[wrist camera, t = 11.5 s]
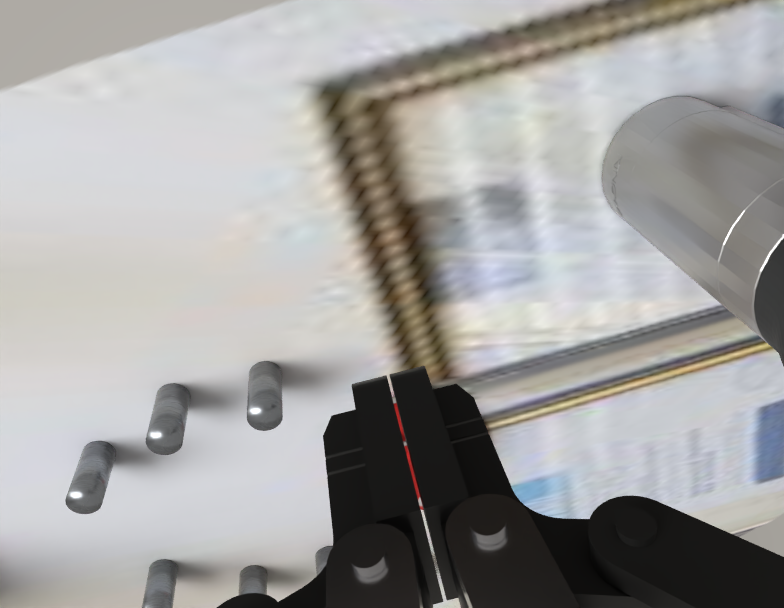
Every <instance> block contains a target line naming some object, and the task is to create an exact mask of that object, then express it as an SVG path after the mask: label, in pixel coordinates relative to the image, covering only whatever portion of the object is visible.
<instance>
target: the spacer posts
mask: <svg viewBox="0 0 784 608" xmlns="http://www.w3.org/2000/svg"><path fill="white" fill-rule="evenodd" d="M189 402H190V394H189V391H188V390H187V389H186V388H185V387H183V386H181V385H179V384H167V385H164V386H162V387H161V388H160V389H159V390H158V392H157V395H156V400H155V404H154V408H153V412H152V416H151V420H150V424H149V429H148V433H147V437H146V444H147V447H148V448H149V449H150V450H151V451H152V452H154V453H157V454H161V455H169V454H173V453H175V452H177V451H178V450H179V449H180V448H181V446H182V443H183V437H184V431H185V425H186V419H187V414H188V408H189ZM247 421H248V423H249V424H250V425H251V426H252V427H253V428H255V429H257V430H262V431H266V430H271V429H274V428H276V427H277V426H278V425H279V424H280V423H281V421H282V374H281V370H280V368H279V367H278V366H277V365H276V364H274V363H272V362H268V361H264V362H259V363H257V364H255V365H254V366H253V367H252V368H251V369H250V372H249V386H248V406H247ZM115 457H116V451H115V449H114V448H113V446H111V445H110V444H108V443H106V442H102V441H95V442H91V443H89V444H87V445H86V446H85V447H84V449H83V452H82V454H81V457H80V460H79V463H78V466H77V468H76V471H75V474H74V477H73V480H72V483H71V485H70V488H69V491H68V494H67V497H66V505H67V506H68V508H69V509H70V510H72V511H74V512H76V513H80V514H90V513H93V512H95V511H97V510H98V509H99V508H100V507H101V505H102V502H103V498H104V495H105V492H106V488H107V485H108V481H109V478H110V474H111V471H112V467H113V464H114V460H115ZM332 548H333V547H332V546H329V547H324V548H322V549H320V550H319V551H318V552H317V553H316V556H315V558H316V572H317V575H318V574H319V573H320V572H321V571H322V570H323V568H324V567H325V565H326V564H327V559H328V556H329V553H330V551H331V549H332ZM177 572H178V567H177V565H176V564H175V563H174V562H172V561H169V560H158V561H156V562H154V563H152V564H151V566H150V568H149V573H148V578H147V583H146V589H145V594H144V599H143V605H142V608H172V607H173V600H174V593H175V586H176V579H177ZM247 593H261V594H265V595H267V572H266V570H265V569H264V568H263V567H260V566H249V567H246V568H244V569H243V570H242V571H241V573H240V582H239V595H242V594H247ZM432 606H433V605H432Z"/></svg>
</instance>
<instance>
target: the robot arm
mask: <svg viewBox="0 0 784 608" xmlns="http://www.w3.org/2000/svg"><path fill="white" fill-rule="evenodd" d="M602 186H603V192H604V195H605V197H606V200H607V202H608V204H609V205H610V206H611V208H612V209H613V211H614V212H615V213H617V214H618V215H619V216H620V217H621V218H622V219H623V220H625V221H626V222H627V223H628V224H629V225H630V226H632V227H633V228H634V229H635V230H636V231H637V232H639V233H640V234H641V235H642V236H643V237H644V238H645V239H646V240H647V241H649V242H650V243H651V244H652V245H653V246H654V247H656V248H657V249H658V250H659V251H660V252H661V253H663V254H664V255H665V256H666V257H667V258H668V259H670V260H671V261H672V262H673V263H674V264H675V265H677V266H678V267H679V268H680V269H681V270H682V271H684V272H685V273H686V274H687V275H688V276H689V277H691V278H692V279H693V280H694V281H695V282H696V283H698V284H699V285H700V286H701V287H702V288H703V289H705V290H706V291H707V292H708V293H709V294H710V295H712V296H713V297H714V298H715V299H716V300H717V301H719V302H720V303H721V304H722V305H723V306H724V307H726V308H727V309H728V310H729V311H730V312H731V313H733V314H734V315H735V316H736V317H737V318H739V319H740V320H741V321H742V322H743V323H744V324H746V325H747V326H748V327H749V328H750V329H751V330H753V331H754V332H755V333H756V334H757V335H758V336H760V337H761V338H762V339H763V340H764V341H765V342H767V343H768V344H769V345H770V346H771V347H773V348H774V349H775V350H776V351H777V352H778V353H779V355H780V358H781V361H782V363H783V366H784V128H782V127H779V126H777V125H774V124H772V123H770V122H767V121H765V120H762V119H760V118H757V117H755V116H752V115H750V114H748V113H745V112H743V111H740V110H738V109H735V108H733V107H731V106H725V107H721V108H719V107H717V106H714V105H712V104H710V103H707V102H705V101H703V100H700V99H696V98H692V97H686V96H675V97H670V98H665V99H661V100H659V101H656V102H654V103H652V104H649V105H647V106H646V107H644V108H643V109H641V110H640V111H638V112H637V113H635V114H634V115H633V116H632V117H631V118H630V119H629V120H628V121H627V122H626V123H625V124H623V126H622V127H621V128H620V130H619V131H618V132H617V134H616V135H615V136H614V138H613V140H612V142H611V144H610V146H609V148H608V150H607V152H606V155H605V159H604V162H603V167H602ZM390 378H391V382H392V387H393V391H394V395H395V399H396V403H397V407H398V411H399V415H400V419H401V423H402V427H403V431H404V436H405V440H406V444H407V448H408V451H409V455H410V459H411V463H412V467H413V471H414V475H415V479H416V483H417V486H418V490H419V494H420V498H421V502H422V506H423V510H424V514H425V517H426V521H427V525H428V529H429V533H430V537H431V541H432V545H433V548H434V552H435V556H436V560H437V564H438V568H439V572H440V575H441V579H442V583H443V587H444V591H445V595H446V599H447V600H450V599H454V598H459V602H460V605H461V608H784V557H782V556H780V555H777V554H775V553H773V552H771V551H769V550H766V549H764V548H762V547H760V546H757V545H755V544H753V543H750V542H748V541H746V540H744V539H741V538H739V537H737V536H735V535H732V534H730V533H728V532H726V531H723V530H721V529H719V528H717V527H714V526H712V525H710V524H707V523H705V522H703V521H701V520H698V519H696V518H694V517H692V516H689V515H687V514H685V513H682V512H680V511H678V510H676V509H673V508H671V507H669V506H667V505H664V504H662V503H660V502H658V501H655V500H652V499H649V498H645V497H641V496H621V497H616V498H613V499H610V500H608V501H606V502H604V503H602V504H601V505H600V506H598V507H597V508H596V510H595V511H594V512H593V513H592V515H591V517H590V519H562V518H553V517H548V516H545V515H542V514H539V513H537V512H535V511H533V510H531V509H529V508H528V507H526V506H525V505H524V504H523V503H522V502H520V500H519V499H518V498H517V497H516V495H515V494H514V492H513V490H512V487H511V485H510V483H509V480H508V478H507V476H506V473H505V471H504V469H503V466H502V464H501V461H500V459H499V457H498V454H497V452H496V450H495V447H494V445H493V443H492V440H491V438H490V435H489V434H488V431H487V428H486V426H485V424H484V421H483V420H482V417H481V414H480V412H479V409H478V407H477V405H476V402H475V400H474V398H473V397H472V396H471V395H470V394H469V393H467V392H466V391H465V390H464V389H462V388H461V387H460V386H458V385H457V384H454V385H450V386H446V387H442V388H438V389H434V390H433V389H432V386H431V383H430V380H429V377H428V374H427V371H426V369H425V366H421V367H417V368H413V369H409V370H405V371H401V372H397V373H393V374H390ZM352 390H353V396H354V402H355V408H356V410H352V411H348V412H345V413H341V414H337V415H333V416H331V419H330V421H329V423H328V426H327V428H326V431H325V433H324V435H323V439H324V449H325V457H326V469H327V475H328V477H327V479H328V488H329V498H330V508H331V518H332V528H333V548H332V549H331V551H330V553H329V556H328V559H327V564H326V565H325V567H324V568H323V570H322V571H321V572H320V573H319V574H318V575H317V577H316V578H314V579H313V580H312V581H311V582H310V583H309V584H307V585H306V586H304V587H303V588H301V589H299V590H298V591H296V592H294V593H293V594H291V595H289V596H288V597H286V598H284V599H283V600H281V601H279V602H277V601H276V600H275V599H274V598H272V597H270V596H268V595H265V594H261V593H247V594H242V595H239V596H236V597H233V598H231V599H229V600H227V601H226V602H224V603H223V604H221V605H220V606H218V607H217V608H433V606H432V605H433V604H436V603H440V602H443V599H442V595H441V591H440V587H439V583H438V578H437V574H436V570H435V566H434V562H433V558H432V554H431V550H430V546H429V542H428V538H427V534H426V530H425V526H424V522H423V518H422V514H421V510H420V506H419V502H418V498H417V494H416V490H415V486H414V482H413V478H412V474H411V470H410V466H409V462H408V458H407V455H406V451H405V447H404V443H403V439H402V435H401V431H400V427H399V423H398V419H397V415H396V411H395V407H394V403H393V399H392V395H391V391H390V387H389V383H388V379H387V376H382V377H378V378H374V379H370V380H367V381H363V382H359V383H355V384H352Z"/></svg>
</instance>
